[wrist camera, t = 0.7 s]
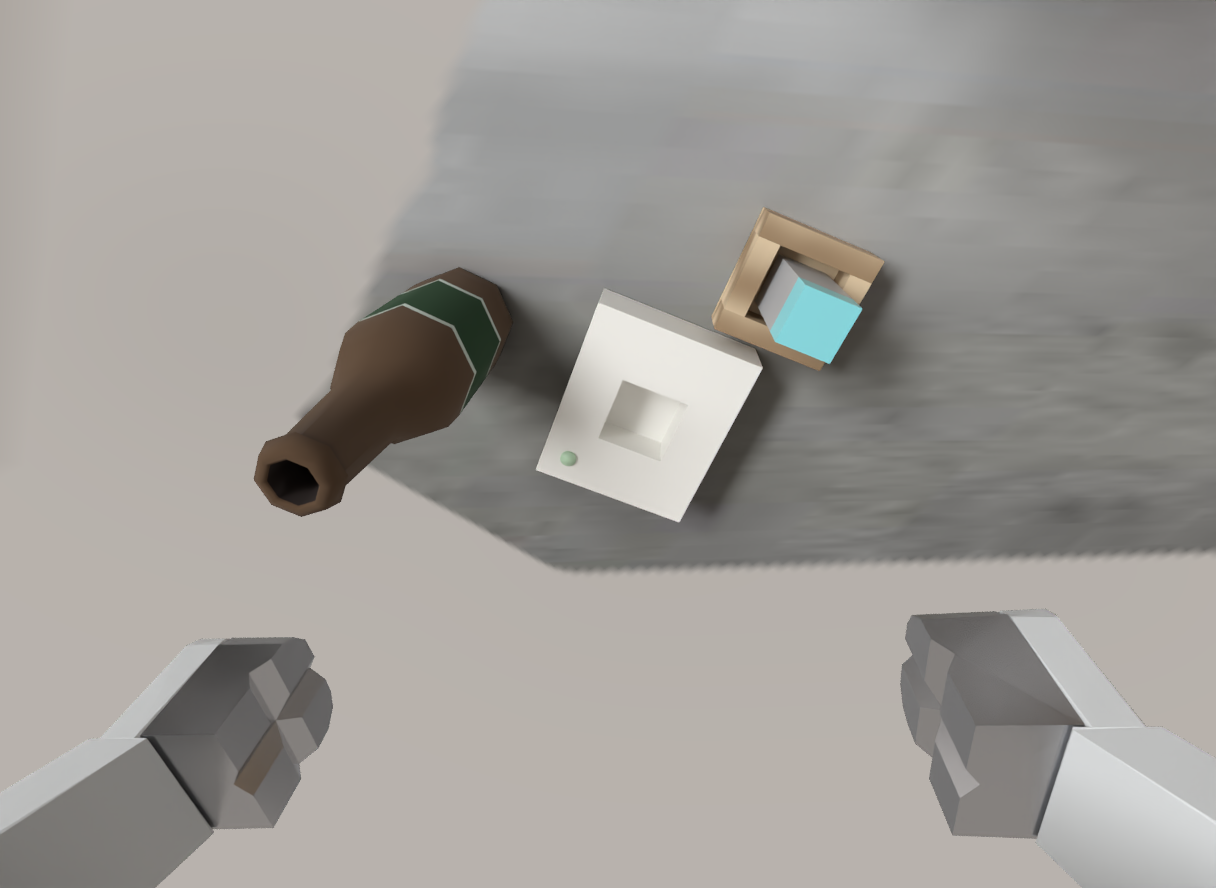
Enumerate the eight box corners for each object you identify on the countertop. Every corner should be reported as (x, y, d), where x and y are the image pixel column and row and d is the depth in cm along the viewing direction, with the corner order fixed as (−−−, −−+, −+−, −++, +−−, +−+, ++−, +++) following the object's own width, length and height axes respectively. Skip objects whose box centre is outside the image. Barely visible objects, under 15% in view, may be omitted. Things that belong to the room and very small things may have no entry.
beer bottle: (469, 385, 48) (316, 589, 27) (393, 312, 46) (161, 474, 25) (536, 322, 45) (423, 496, 24) (459, 241, 43) (259, 356, 22)
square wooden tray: (763, 206, 40) (770, 212, 38) (870, 252, 41) (884, 261, 39) (711, 316, 44) (714, 328, 41) (810, 356, 45) (819, 371, 42)
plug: (779, 253, 41) (805, 285, 33) (825, 273, 42) (862, 308, 34) (755, 301, 43) (774, 341, 35) (799, 319, 43) (829, 364, 35)
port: (603, 287, 44) (598, 303, 40) (755, 348, 45) (763, 369, 41) (544, 445, 50) (535, 471, 47) (678, 495, 51) (679, 523, 48)
